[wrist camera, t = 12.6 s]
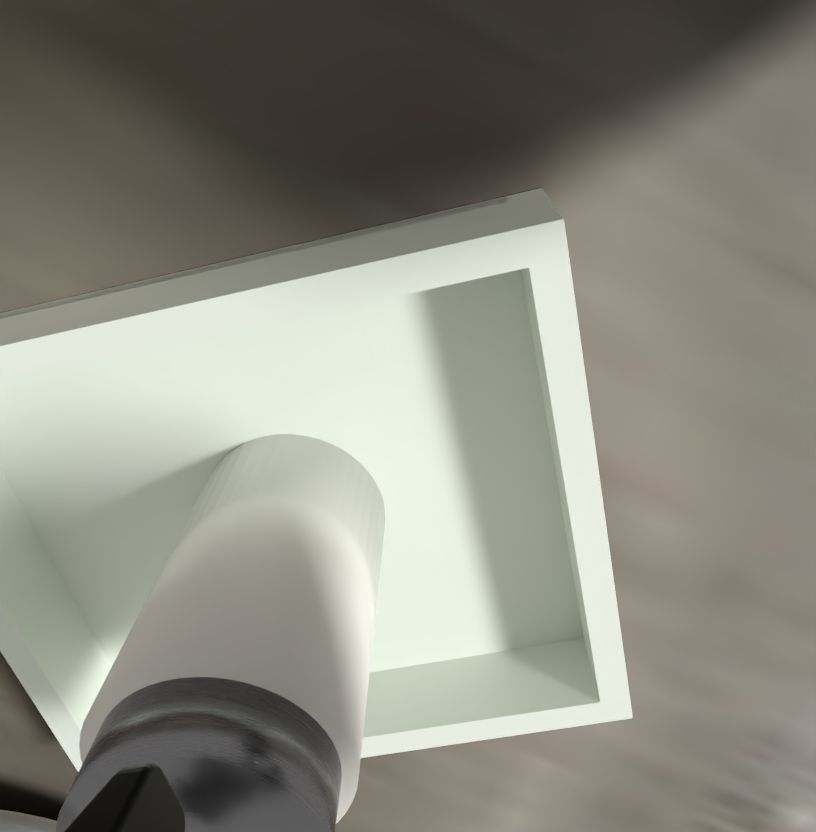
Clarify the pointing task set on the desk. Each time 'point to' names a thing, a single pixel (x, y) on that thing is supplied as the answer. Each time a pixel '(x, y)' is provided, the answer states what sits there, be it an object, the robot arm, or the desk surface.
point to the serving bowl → (25, 822)
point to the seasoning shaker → (252, 648)
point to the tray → (345, 428)
